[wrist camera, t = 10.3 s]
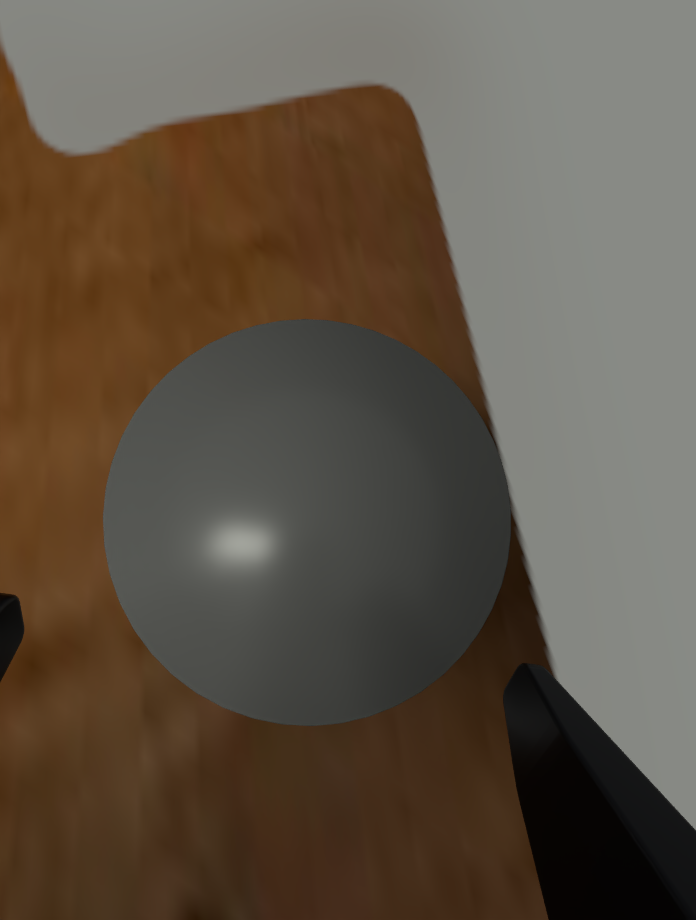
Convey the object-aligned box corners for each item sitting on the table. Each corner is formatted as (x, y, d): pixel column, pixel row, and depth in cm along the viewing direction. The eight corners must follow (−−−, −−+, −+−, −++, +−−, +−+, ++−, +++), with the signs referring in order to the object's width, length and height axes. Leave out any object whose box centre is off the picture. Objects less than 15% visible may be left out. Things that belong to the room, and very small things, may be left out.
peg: (281, 646, 17) (306, 836, 4) (201, 555, 17) (7, 484, 5) (367, 560, 18) (583, 514, 5) (291, 477, 18) (331, 256, 6)
